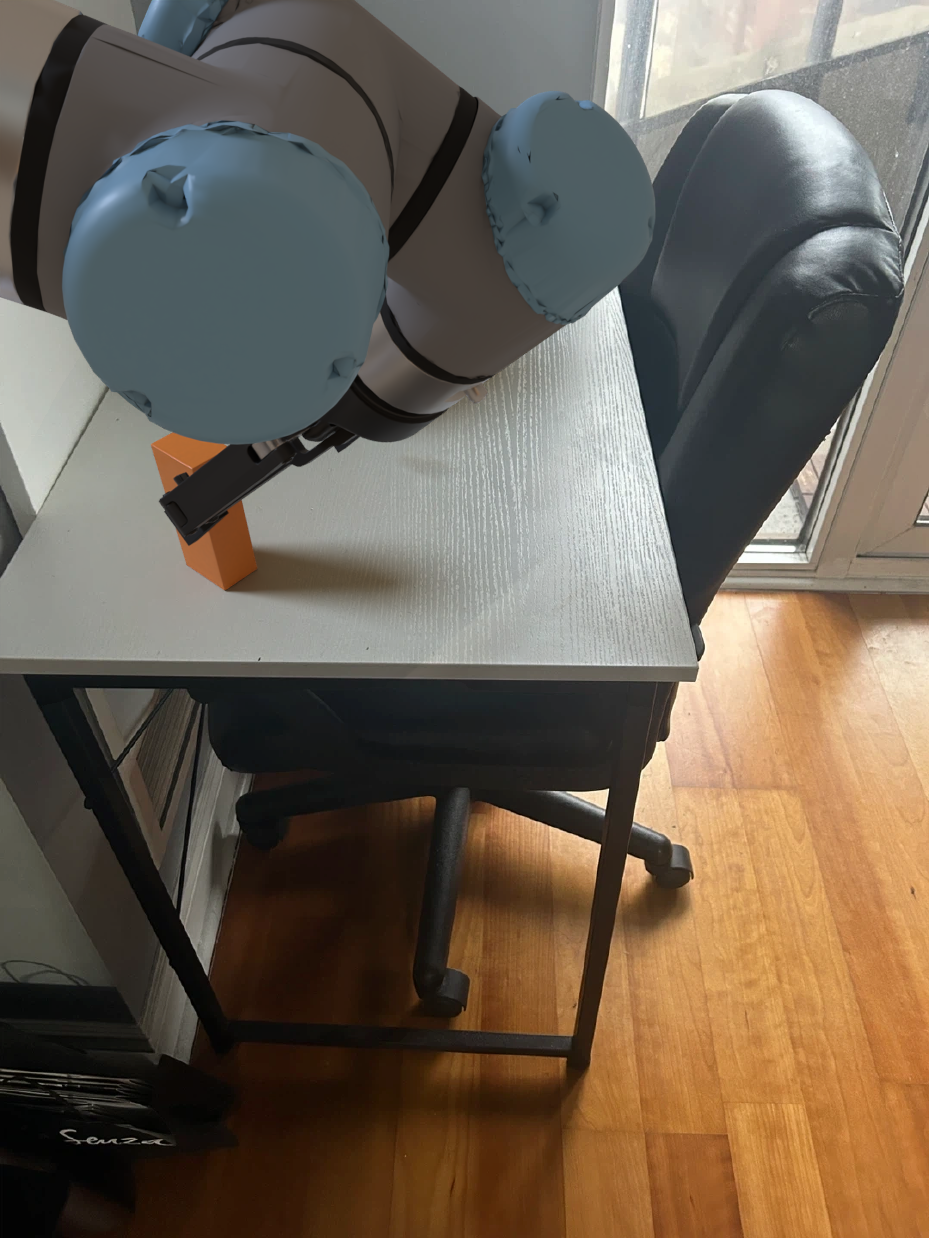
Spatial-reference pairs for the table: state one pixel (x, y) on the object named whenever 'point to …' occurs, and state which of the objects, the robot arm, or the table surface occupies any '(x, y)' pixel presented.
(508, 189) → the robot arm
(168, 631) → the table surface
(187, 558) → the block
